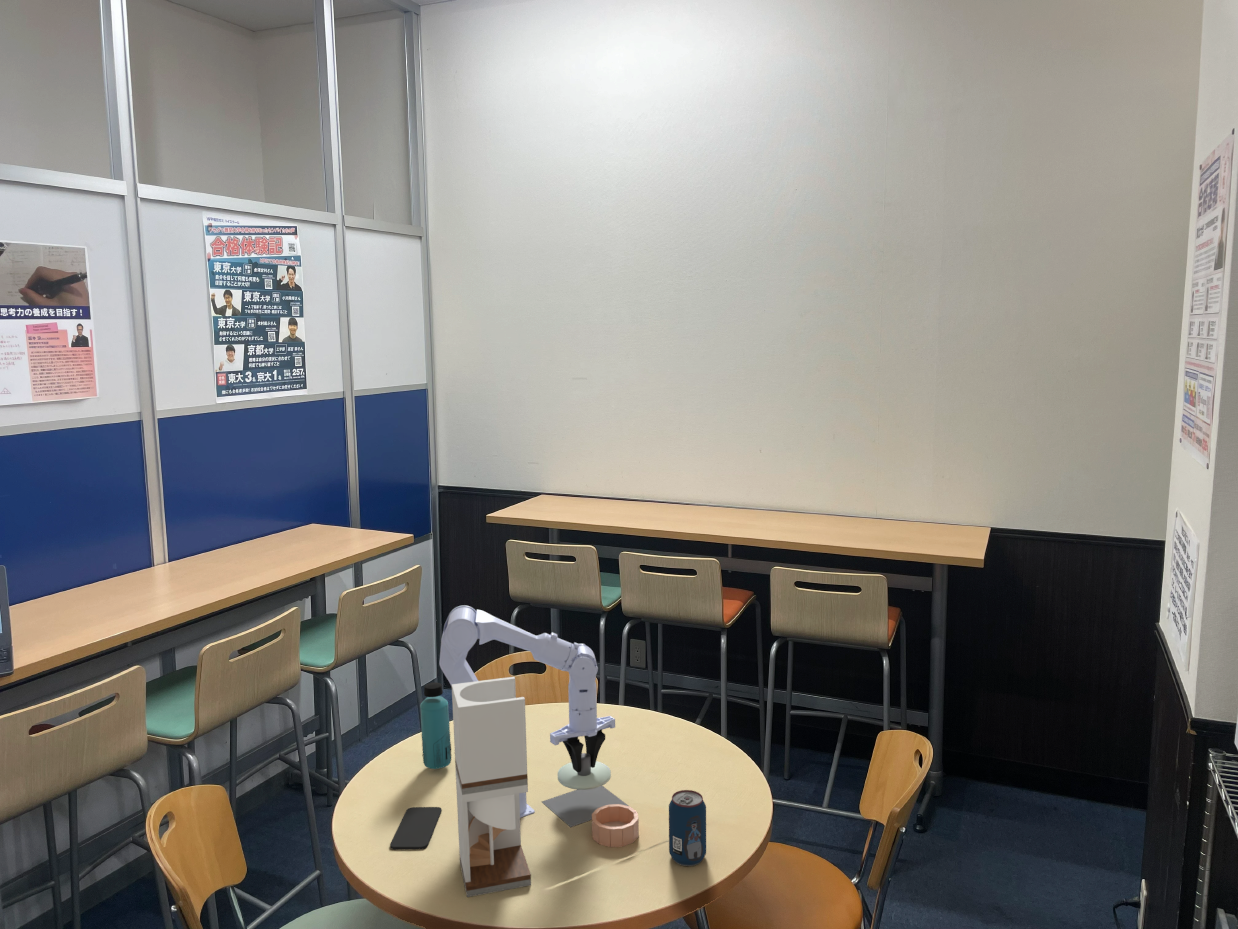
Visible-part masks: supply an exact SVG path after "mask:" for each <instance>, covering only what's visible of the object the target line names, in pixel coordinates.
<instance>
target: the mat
mask: <svg viewBox="0 0 1238 929" xmlns="http://www.w3.org/2000/svg"><path fill="white" fill-rule="evenodd" d="M541 803H542V804H543V805H544V806H545V807H547V809H548V810H550V811H551V812H552V813H554V814H555V815H556V816H557V817H558V818H559V819H560V820H561V821H562V822H564V823H565V824H566V825H567V826H568V827H569V828H574V827H576V826H579V825H581V824H584V823H586V822H590V821H592V813H593V812H594V811H595V810H596V809H597V808H600V807H603V806H605V805H611V804H621V805H626V806H630V805H628V804H627V803H626V802H624V801H623V800H622V799H621V798H620V797H618V796H617V795H615V794H614V793H612V791H610V790H609V789H607V788H606V787H605V786H604V785H602V786H600V787H598V788H594V789H588V790H577V789H573V790H572V791H569V792H566V793H563V794H560V795H557V796H554V797H551V798H549V799H548V798H547V799H545V800H543V801H541Z"/></svg>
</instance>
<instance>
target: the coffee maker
mask: <svg viewBox="0 0 1238 929" xmlns="http://www.w3.org/2000/svg"><path fill="white" fill-rule="evenodd" d="M516 689H517V688H516V678H515V676H510V677H502V678H500V677H499V678H492V679H491V678H490V679H485V680H478V681H475V682H467V683H459V684H452V686H451V698H452V699H451V700H452V719H453V720H452V722H453V723H452V724H453V741H454V742H453V743H454V764H455V765H454V766H455V780H456V781H455V785H456V787H455V789H456V790H455V791H456V807H457V808H456V809H457V826H458V827H457V830H458V831H457V833H458V852H459V854H458V855H459V866H460V871H461V875H462V880H463V886H464V890H465V893H466V897H467V898H470V897H474V896H476V897H477V896H480V895H487V894H491V893H496V892H497V893H498V892H501V891H502V892H503V891H507V890H512V889H518V888H523V887H528V886H531V885H532V873H531V871H530V868H529V865H528V863H527V859H526V856H525V852H524V850H523V846H522V843H521V842H522V840H521V839H522V837H521V835H522V834H521V818H520V803H519V793H525V792H526V793H528V792H529V788H528V786H529V785H528V784H529V783H528V780H529V779H528V757H527V756H528V755H527V754H528V752H527V721H526V719H527V718H526V699H525V697H524V696H520V697H517V694H516V691H517V690H516Z"/></svg>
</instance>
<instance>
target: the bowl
mask: <svg viewBox="0 0 1238 929" xmlns="http://www.w3.org/2000/svg"><path fill="white" fill-rule="evenodd" d="M639 821H640V820H639V813H638V811H637V810H636V809H634V808H633V807H632V806H630V805H629V806H626V805H621V804H611V805H605V806H603V807H600V808H597V809H596V810H595V811H594V812H593V813H592V820H591V834H592V835H591V836H592V839H593V840H594V841H595V842H596V843H597V844H598V845H601V846H605V847H608V848H621V847H626V846H628V845H631V844H632V843H633V844H634V842H635V841H636V840H637V839H638V837H639V836H640V833H639V831H640V830H639V828H640V827H639Z"/></svg>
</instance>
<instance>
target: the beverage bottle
mask: <svg viewBox="0 0 1238 929" xmlns="http://www.w3.org/2000/svg"><path fill="white" fill-rule="evenodd" d="M423 688H424V689H423V690H424V691H423V696H424V697H425V699H423V701H422V702H421V703H420V705H419V707H420V724H421V749H422V751H421V752H422V753H421V754H422V763H423V765H424V767H426V768H428V769H431V770H439V769H442V768H443V769H444V768H446V767H448V766H449V765H451V763H452V756H453V755H452V743H451V739H452V737H451V733H452V732H451V731H450V726H451V725H450V716H449V702H448V699H446V698H444V697H443V696H442V695H443V693H444V691H443V690H444V689H443V685H442V683H440V682H436V681H435V682H433V681H432V682H429V683H426V684H425V685H424V687H423Z"/></svg>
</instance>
